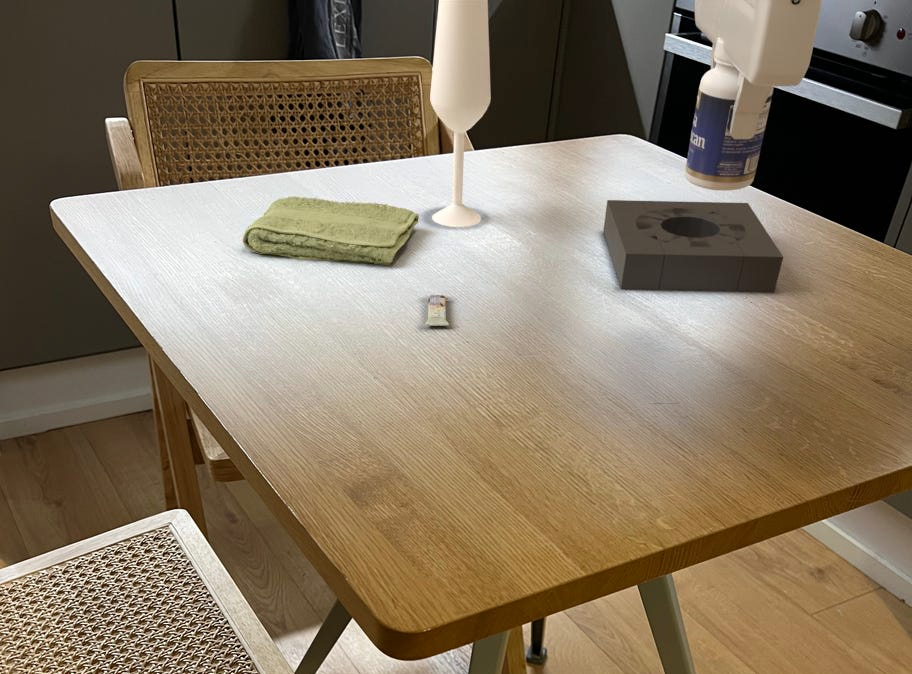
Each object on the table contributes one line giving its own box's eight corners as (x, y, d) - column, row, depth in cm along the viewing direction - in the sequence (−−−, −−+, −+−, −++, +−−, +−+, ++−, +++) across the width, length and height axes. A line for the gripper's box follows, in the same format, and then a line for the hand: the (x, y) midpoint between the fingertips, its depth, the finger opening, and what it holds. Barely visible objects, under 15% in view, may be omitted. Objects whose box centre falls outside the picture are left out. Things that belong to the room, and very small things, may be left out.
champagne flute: (477, 233, 112) (488, -13, 96) (422, 227, 114) (423, -17, 97) (490, 213, 117) (502, -24, 101) (436, 208, 118) (440, -28, 102)
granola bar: (449, 331, 93) (449, 320, 92) (424, 330, 93) (425, 320, 92) (448, 301, 98) (448, 291, 97) (425, 301, 98) (425, 291, 97)
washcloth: (396, 272, 104) (396, 241, 101) (239, 257, 106) (236, 227, 104) (421, 229, 113) (421, 200, 111) (276, 216, 115) (274, 188, 113)
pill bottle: (673, 172, 78) (696, 32, 72) (735, 168, 79) (763, 29, 73) (699, 194, 74) (725, 48, 68) (764, 190, 75) (797, 45, 69)
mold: (739, 238, 112) (747, 202, 110) (773, 295, 101) (783, 256, 98) (602, 235, 112) (607, 199, 110) (620, 292, 101) (626, 253, 98)
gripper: (871, -84, 57) (808, 166, 66) (780, -119, 72) (740, 89, 81) (764, -84, 57) (717, 166, 66) (696, -119, 72) (665, 89, 81)
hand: (729, 123), depth 74 cm, fingers closed on pill bottle, 5 cm apart
